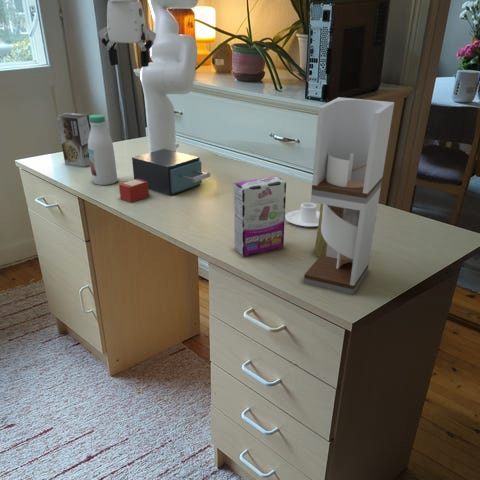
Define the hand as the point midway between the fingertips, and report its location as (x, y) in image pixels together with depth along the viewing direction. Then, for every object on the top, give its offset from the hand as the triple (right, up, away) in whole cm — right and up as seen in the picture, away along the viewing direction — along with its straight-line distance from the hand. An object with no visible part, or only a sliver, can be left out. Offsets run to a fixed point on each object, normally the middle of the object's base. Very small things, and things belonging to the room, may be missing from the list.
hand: (129, 65), depth 148 cm
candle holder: (+50, -46, -9) cm, 69 cm away
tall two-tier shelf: (+52, -64, -36) cm, 90 cm away
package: (+1, -37, +5) cm, 37 cm away
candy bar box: (+36, -56, -25) cm, 71 cm away
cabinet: (+9, -30, +15) cm, 35 cm away
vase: (+52, -57, -27) cm, 82 cm away
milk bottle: (-11, -29, +17) cm, 35 cm away
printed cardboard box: (-25, -18, +34) cm, 46 cm away
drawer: (+13, -31, +12) cm, 36 cm away
